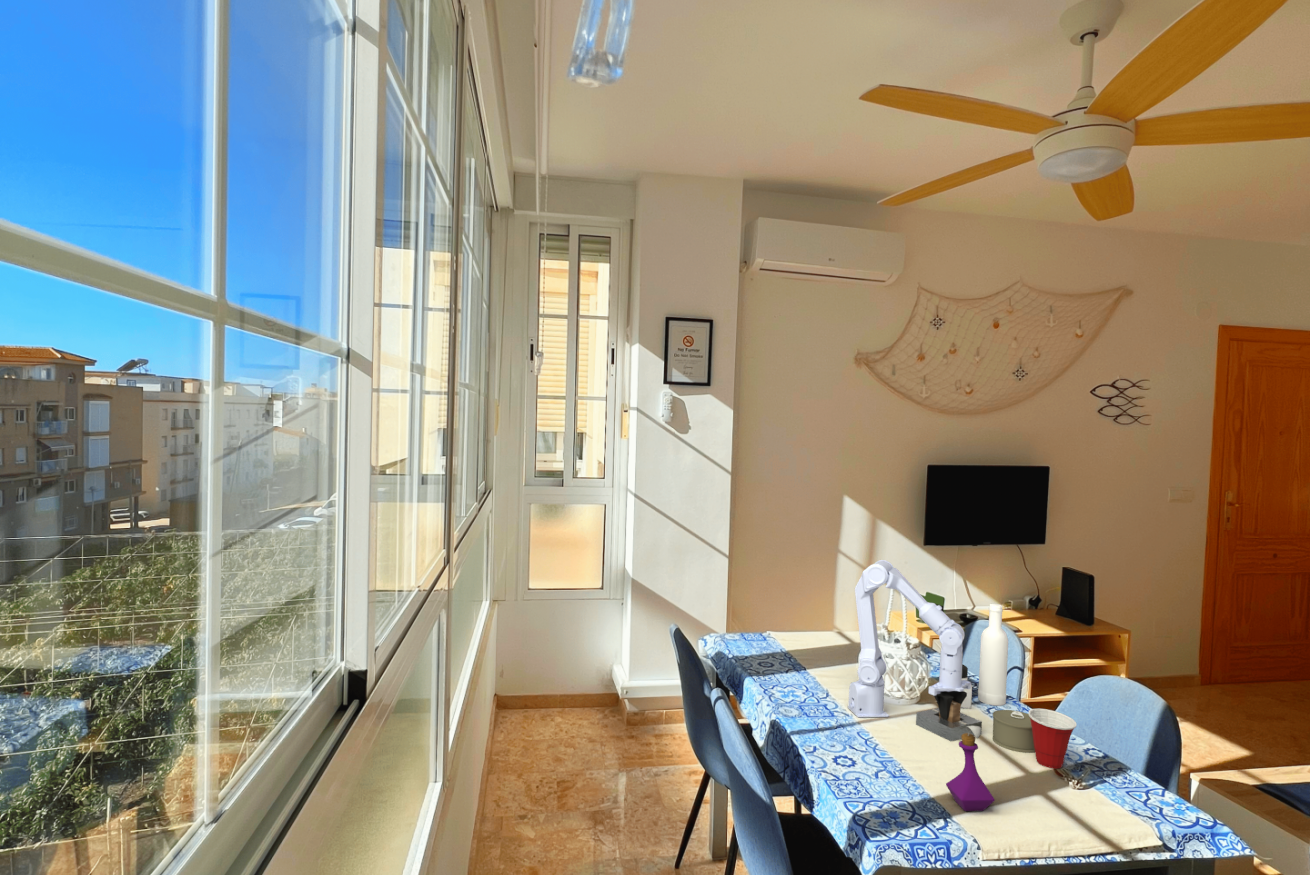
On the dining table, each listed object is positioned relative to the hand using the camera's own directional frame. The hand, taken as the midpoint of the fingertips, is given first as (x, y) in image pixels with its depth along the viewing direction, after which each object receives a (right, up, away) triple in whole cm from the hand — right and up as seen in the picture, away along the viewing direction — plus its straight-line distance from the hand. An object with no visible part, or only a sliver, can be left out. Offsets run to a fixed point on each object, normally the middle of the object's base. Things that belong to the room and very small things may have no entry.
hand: (948, 717), depth 207 cm
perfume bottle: (-12, -4, -43) cm, 45 cm away
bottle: (+23, -4, +24) cm, 33 cm away
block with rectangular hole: (0, -3, 0) cm, 3 cm away
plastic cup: (+18, -5, -20) cm, 27 cm away
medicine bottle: (+10, -4, +21) cm, 23 cm away
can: (+15, -4, -8) cm, 17 cm away
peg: (0, -3, 0) cm, 3 cm away
